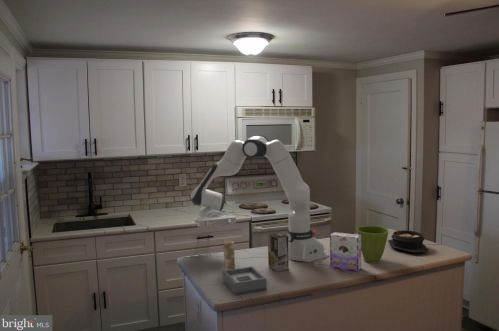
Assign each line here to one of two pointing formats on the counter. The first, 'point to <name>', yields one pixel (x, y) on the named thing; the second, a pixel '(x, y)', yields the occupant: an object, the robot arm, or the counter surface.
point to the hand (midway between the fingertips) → (220, 224)
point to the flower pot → (372, 242)
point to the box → (244, 280)
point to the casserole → (408, 241)
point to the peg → (229, 255)
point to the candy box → (345, 251)
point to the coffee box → (278, 251)
